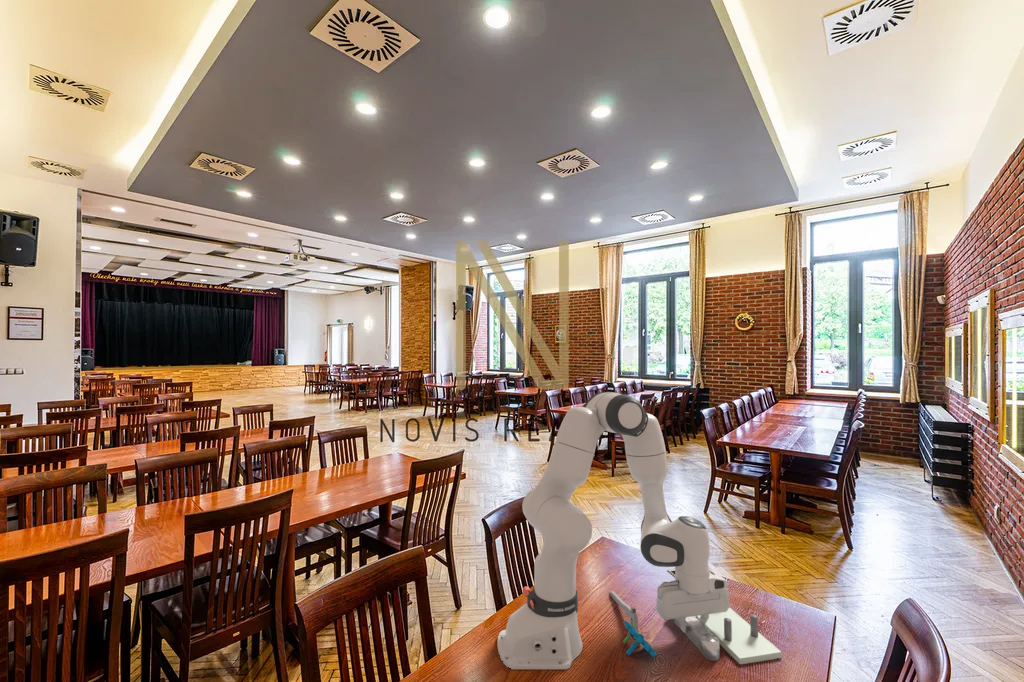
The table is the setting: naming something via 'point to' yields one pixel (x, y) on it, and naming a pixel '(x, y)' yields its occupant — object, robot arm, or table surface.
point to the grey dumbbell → (701, 638)
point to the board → (741, 637)
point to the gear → (637, 640)
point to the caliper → (626, 610)
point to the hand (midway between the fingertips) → (692, 629)
